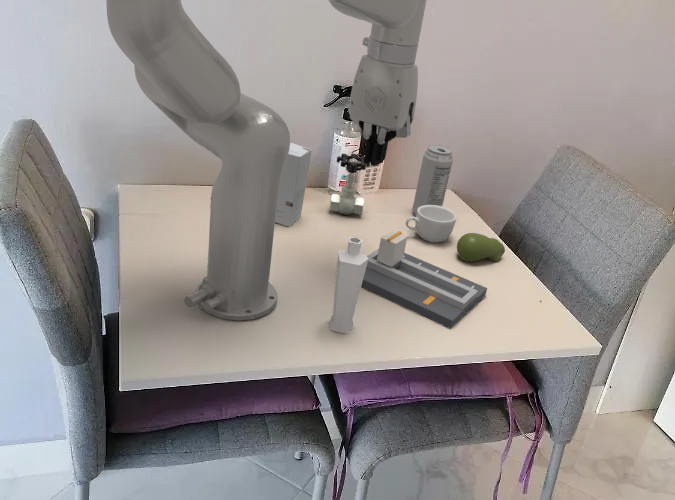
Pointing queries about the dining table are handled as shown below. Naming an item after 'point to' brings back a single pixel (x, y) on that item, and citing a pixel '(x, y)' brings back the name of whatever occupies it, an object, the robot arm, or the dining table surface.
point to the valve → (349, 187)
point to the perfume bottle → (348, 285)
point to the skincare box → (292, 185)
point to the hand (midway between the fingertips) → (373, 162)
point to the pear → (479, 247)
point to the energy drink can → (433, 177)
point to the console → (423, 288)
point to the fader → (392, 249)
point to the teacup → (433, 222)
